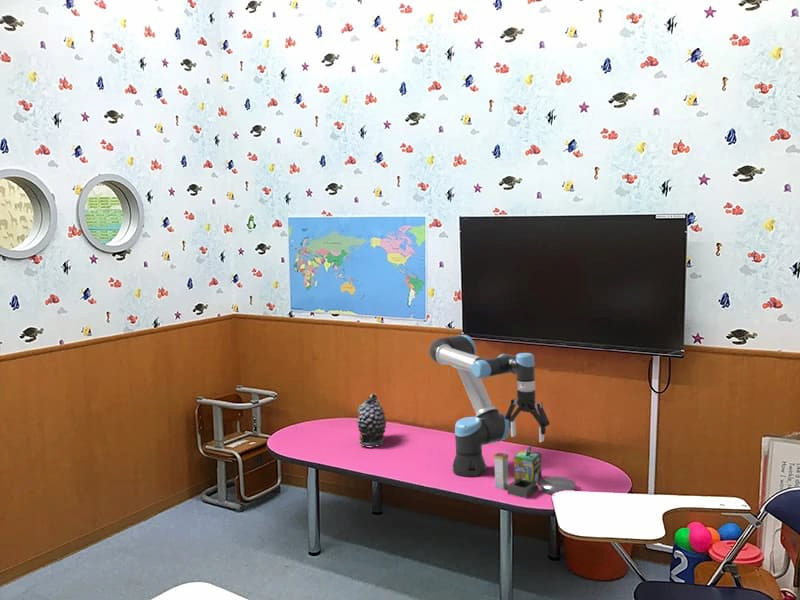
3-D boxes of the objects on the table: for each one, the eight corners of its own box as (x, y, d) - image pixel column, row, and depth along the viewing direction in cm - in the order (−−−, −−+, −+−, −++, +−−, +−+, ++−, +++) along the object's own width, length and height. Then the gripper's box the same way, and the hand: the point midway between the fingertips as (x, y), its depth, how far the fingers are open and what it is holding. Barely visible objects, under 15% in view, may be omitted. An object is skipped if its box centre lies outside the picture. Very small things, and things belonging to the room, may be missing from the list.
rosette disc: (534, 490, 286) (534, 484, 285) (550, 480, 296) (550, 474, 296) (565, 498, 276) (565, 492, 276) (581, 487, 287) (581, 481, 287)
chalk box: (522, 474, 304) (521, 441, 302) (542, 478, 299) (541, 444, 297) (514, 481, 296) (513, 448, 294) (534, 485, 291) (533, 451, 289)
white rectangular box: (494, 487, 291) (493, 455, 289) (500, 484, 294) (499, 452, 292) (503, 489, 288) (502, 457, 286) (509, 486, 291) (508, 454, 290)
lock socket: (507, 493, 284) (507, 485, 284) (519, 486, 291) (518, 478, 290) (526, 498, 278) (526, 490, 278) (537, 491, 285) (537, 482, 285)
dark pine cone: (359, 437, 367) (357, 390, 364) (388, 436, 367) (385, 389, 364) (355, 450, 347) (353, 401, 344) (385, 449, 346) (383, 400, 343)
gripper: (496, 388, 298) (497, 436, 301) (548, 395, 282) (549, 446, 284) (505, 384, 304) (506, 431, 306) (557, 391, 288) (558, 441, 290)
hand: (527, 438), depth 295 cm, fingers open, 13 cm apart
